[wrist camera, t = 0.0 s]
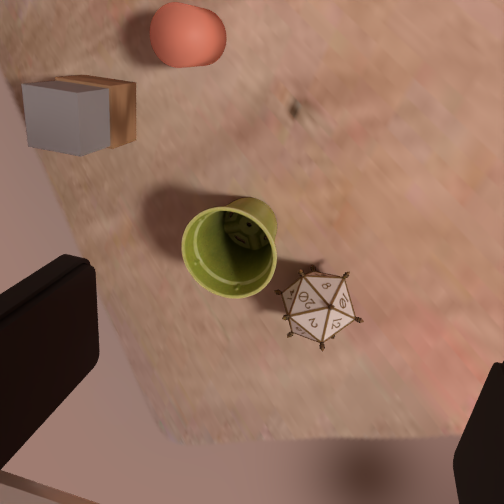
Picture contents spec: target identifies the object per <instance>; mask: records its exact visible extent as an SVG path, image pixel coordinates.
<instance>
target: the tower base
mask: <svg viewBox="0 0 504 504" xmlns="http://www.w3.org/2000/svg"><path fill="white" fill-rule="evenodd" d="M55 80H56V81H64V82H71V83H77V84H83V85H90V86H96V87H103V88H109V113H110V146H109V147H107V148H111V149H114V148H116V147H119V146H122V145H124V144H127V143H130V142H133V141H135V140H136V83H135V82H129V81H122V80H116V79H109V78H102V77H96V76H89V75H77V76H65V77H55Z"/></svg>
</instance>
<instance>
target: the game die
mask: <svg viewBox="0 0 504 504" xmlns="http://www.w3.org/2000/svg"><path fill="white" fill-rule="evenodd" d="M315 268H316V267H314V265H312V267H311V271H312V272H310V273H307V274H305V275H304V271H303V270H301V269H300V270H299V274H300V276H301V277H300V278H299V279H297V280H296V281H295V282H294V283H293V284H291V285H290V286H289V287H288V288H287V289H285V290H284V291H283V292H281V291H280V290H275V293H276V294H278V295H281V296H282V299H283V303H284V307H285V310H286V314H287V315H283V318H282V319H284V320H287V319H288V321H289V325H290V328H291V332H289V333H288V335H287V338H289V337H291V336H293V334H294V333H295V334H297V335H300V336H303V337H305V338H308V339H311V340H313V341H316V342H319V343H320V345H319V346H320V349H321V350H322V351H323V350H324V348H325V347H324V344H323V343H324V342H325V341H327V340H328V339H330V338H332V339H334V337H335V334H336V333H338V332H339V331H341V330H342V329H343V328H345V327H346V326H348V325H349V324H350V323H352V322H353V321H354V320H356V321H357V322H359V323H361V322H364V321H363V320H362V319H361V318H359V317H356V316H355V312H354V309H353V305H352V302H351V299H350V295H349V292H348V288H347V285H346V281H345V278H348V276H349V273H350V272H345V274H343V277H340V276H335V275H331V274H326V273H321V272H316V271H315V270H316V269H315Z"/></svg>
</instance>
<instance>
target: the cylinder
mask: <svg viewBox="0 0 504 504" xmlns="http://www.w3.org/2000/svg"><path fill="white" fill-rule="evenodd" d="M150 41H151V45H152V47H153V50H154V52H155V53H156V55H157V56H158V57H159V59H160V60H161V61H162V62H164V63H165V64H167V65H169V66H172V67H176V68H182V67H194V66H206V65H210V64H212V63H214V62H216V61H217V60H218V59H219V58H220V57H221V55H222V54H223V52H224V49H225V46H226V30H225V27H224V25H223V22H222V21H221V19H220V18H219V17H218V16H217V15H216V14H215V13H214V12H212V11H210V10H208V9H204V8H200V7H196V6H191V5H187V4H183V3H178V2H173V3H168V4H166V5H164V6H162V7H161V8H160V9H159V10H158V11H157V12H156V13H155V15H154V16H153V19H152V21H151V25H150Z"/></svg>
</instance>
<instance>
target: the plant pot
mask: <svg viewBox="0 0 504 504" xmlns="http://www.w3.org/2000/svg"><path fill="white" fill-rule="evenodd" d="M230 212H234V213H233V214H232V216H231V218H230V216H229V215H230ZM247 223H251V227H249V226H247ZM276 231H277V222H276V218H275V215H274V213H273V211H272V210H271V208H270V207H269V206H268V205H267V204H265V203H264V202H262V201H260V200H258V199H255V198H241V199H238V200H236V201H234V202H232V203H230V204H228V205H227V206H220V207H213V208H209V209H207V210H204V211H202V212H200V213H199V214H198V215H196V216H195V217H194V218H193V219H192V220H191V221H190V222H189V224H188V225H187V227H186V229H185V231H184V233H183V237H182V256H183V260H184V263H185V266H186V268H187V269H188V271H189V273H190V274H191V275H192V277H193V278H194V279H195V280H196V282H197V283H198V284H200V285H201V286H202V287H203V288H205V289H207V290H208V291H209V292H211V293H213V294H216V295H219V296H222V297H226V298H245V297H249V296H252V295H254V294H256V293H258V292H260V291H261V290H262V289H263V288H264V287H266V285H267V284H268V283H269V282H270V280H271V278H272V276H273V274H274V271H275V268H276V263H277V251H276V246H275V243H274V241H275V236H276ZM235 236H238V237H239V238H240V239H242V240H244V241H246V243H242V242H241V241H238V240H237V239H236V238H235ZM265 236H267V237H268V238H267V239H266V240H264V237H265Z"/></svg>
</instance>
